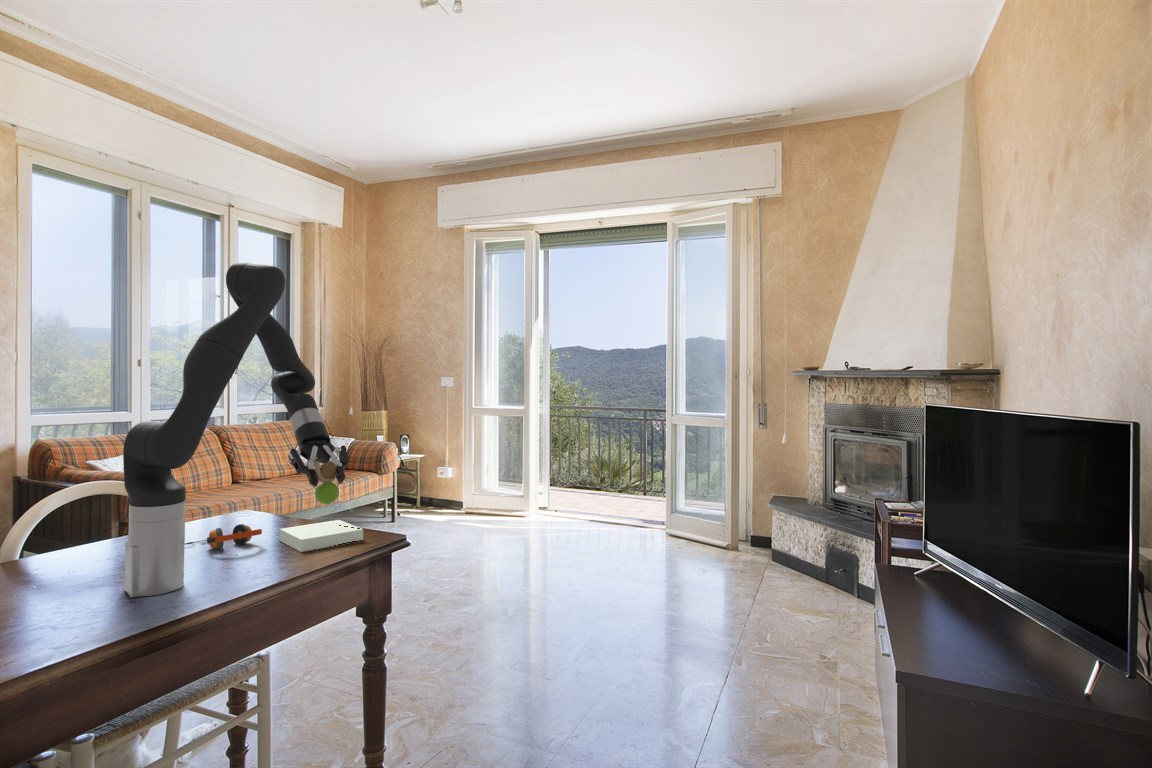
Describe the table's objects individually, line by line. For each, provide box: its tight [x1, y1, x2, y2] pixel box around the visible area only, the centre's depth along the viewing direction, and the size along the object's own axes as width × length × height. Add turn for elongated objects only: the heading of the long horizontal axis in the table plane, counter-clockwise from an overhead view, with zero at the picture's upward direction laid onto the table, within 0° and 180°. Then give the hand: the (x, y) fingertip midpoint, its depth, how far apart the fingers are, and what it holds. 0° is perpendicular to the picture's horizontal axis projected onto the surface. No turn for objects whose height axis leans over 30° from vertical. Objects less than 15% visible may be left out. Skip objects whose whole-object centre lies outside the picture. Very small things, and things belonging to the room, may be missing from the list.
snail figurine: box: [313, 457, 340, 505], centre depth 147 cm, size 5×6×12 cm
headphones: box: [185, 523, 263, 550], centre depth 151 cm, size 16×5×20 cm
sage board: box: [278, 519, 364, 553], centre depth 157 cm, size 16×14×3 cm
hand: (329, 483), depth 145 cm, fingers closed on snail figurine, 5 cm apart
